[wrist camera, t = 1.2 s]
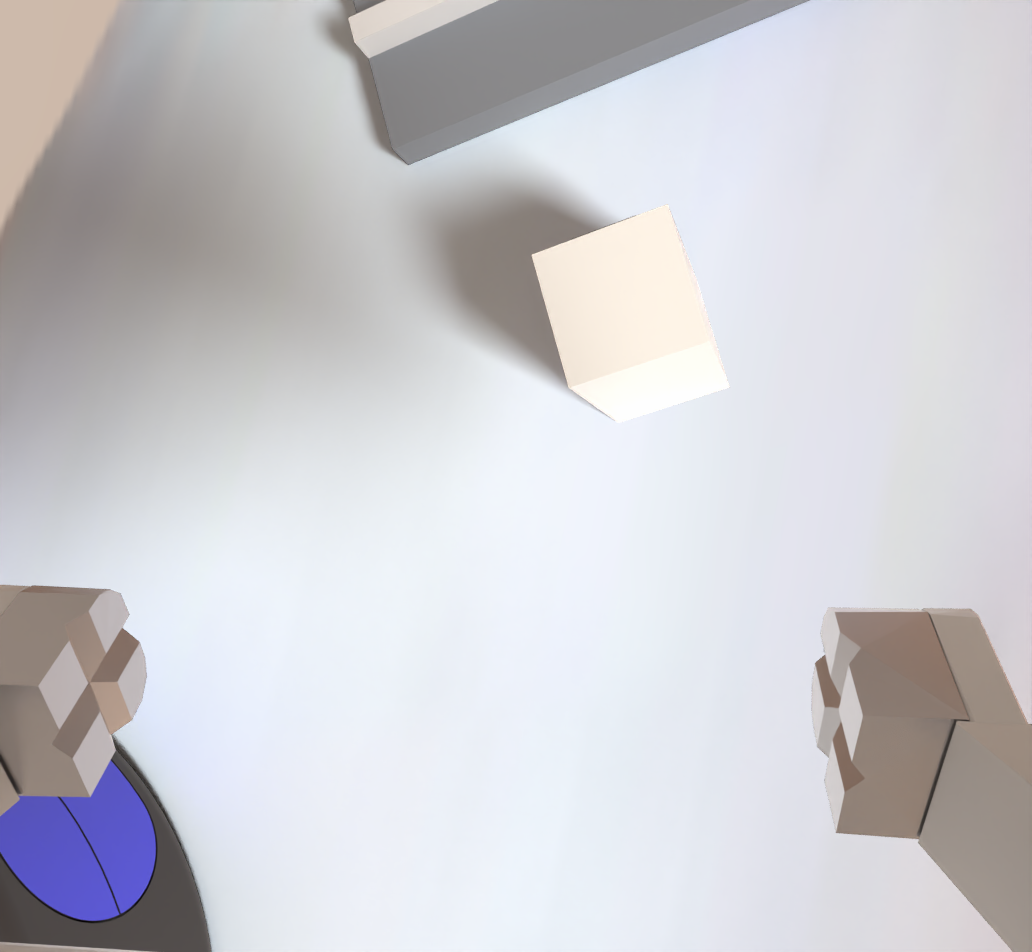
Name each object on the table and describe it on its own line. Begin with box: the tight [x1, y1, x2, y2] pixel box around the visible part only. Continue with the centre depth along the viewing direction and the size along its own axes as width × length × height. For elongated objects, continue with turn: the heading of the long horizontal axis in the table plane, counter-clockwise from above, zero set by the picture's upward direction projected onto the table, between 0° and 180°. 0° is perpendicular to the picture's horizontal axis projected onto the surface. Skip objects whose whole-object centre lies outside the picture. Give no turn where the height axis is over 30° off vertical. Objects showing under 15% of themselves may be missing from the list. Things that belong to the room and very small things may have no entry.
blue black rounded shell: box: [0, 750, 211, 952], centre depth 33 cm, size 16×5×9 cm, turn 34°
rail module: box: [532, 204, 730, 423], centre depth 30 cm, size 4×5×8 cm
